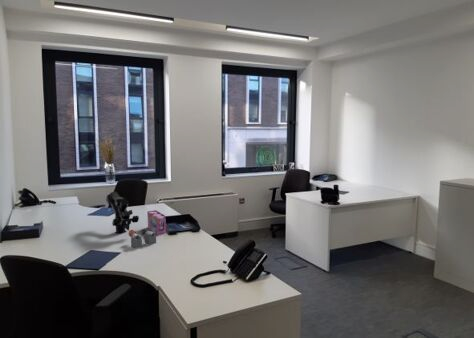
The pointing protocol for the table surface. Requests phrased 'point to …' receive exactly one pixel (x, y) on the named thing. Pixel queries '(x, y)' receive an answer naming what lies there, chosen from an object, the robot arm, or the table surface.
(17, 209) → the table surface
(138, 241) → the bed
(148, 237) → the grey u-shaped block
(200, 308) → the table surface
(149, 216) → the gum box
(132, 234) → the copper plunger
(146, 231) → the black plunger
